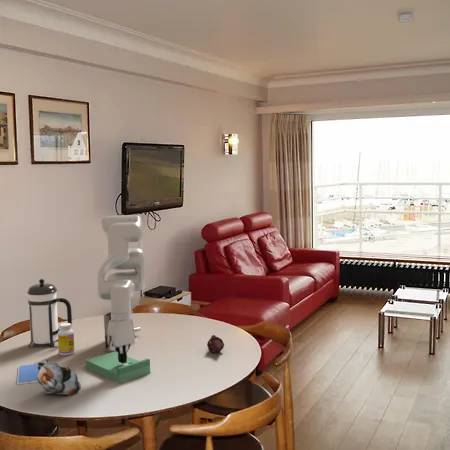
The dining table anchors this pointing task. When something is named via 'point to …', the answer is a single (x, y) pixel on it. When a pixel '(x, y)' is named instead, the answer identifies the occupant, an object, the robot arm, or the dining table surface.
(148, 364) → the green
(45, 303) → the coffee press
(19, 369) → the tablet computer
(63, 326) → the supplement bottle
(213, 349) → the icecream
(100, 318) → the dining table surface
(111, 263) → the robot arm
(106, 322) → the coffee box
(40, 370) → the lucky cat figurine
